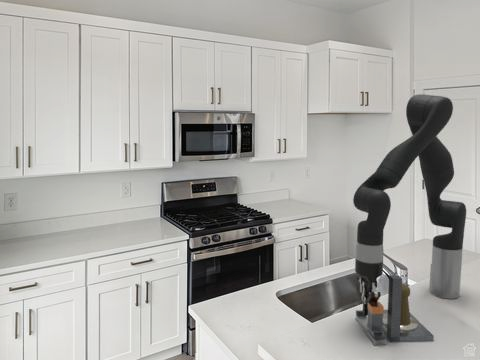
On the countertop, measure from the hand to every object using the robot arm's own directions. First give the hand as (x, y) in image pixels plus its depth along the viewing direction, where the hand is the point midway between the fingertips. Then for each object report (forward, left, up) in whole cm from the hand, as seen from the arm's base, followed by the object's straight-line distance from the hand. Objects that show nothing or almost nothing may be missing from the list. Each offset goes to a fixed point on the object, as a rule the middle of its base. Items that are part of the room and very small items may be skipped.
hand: (367, 314), depth 112 cm
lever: (+6, 0, -2) cm, 6 cm away
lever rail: (+2, 0, -4) cm, 5 cm away
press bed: (0, +10, -4) cm, 10 cm away
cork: (0, +10, -2) cm, 10 cm away
